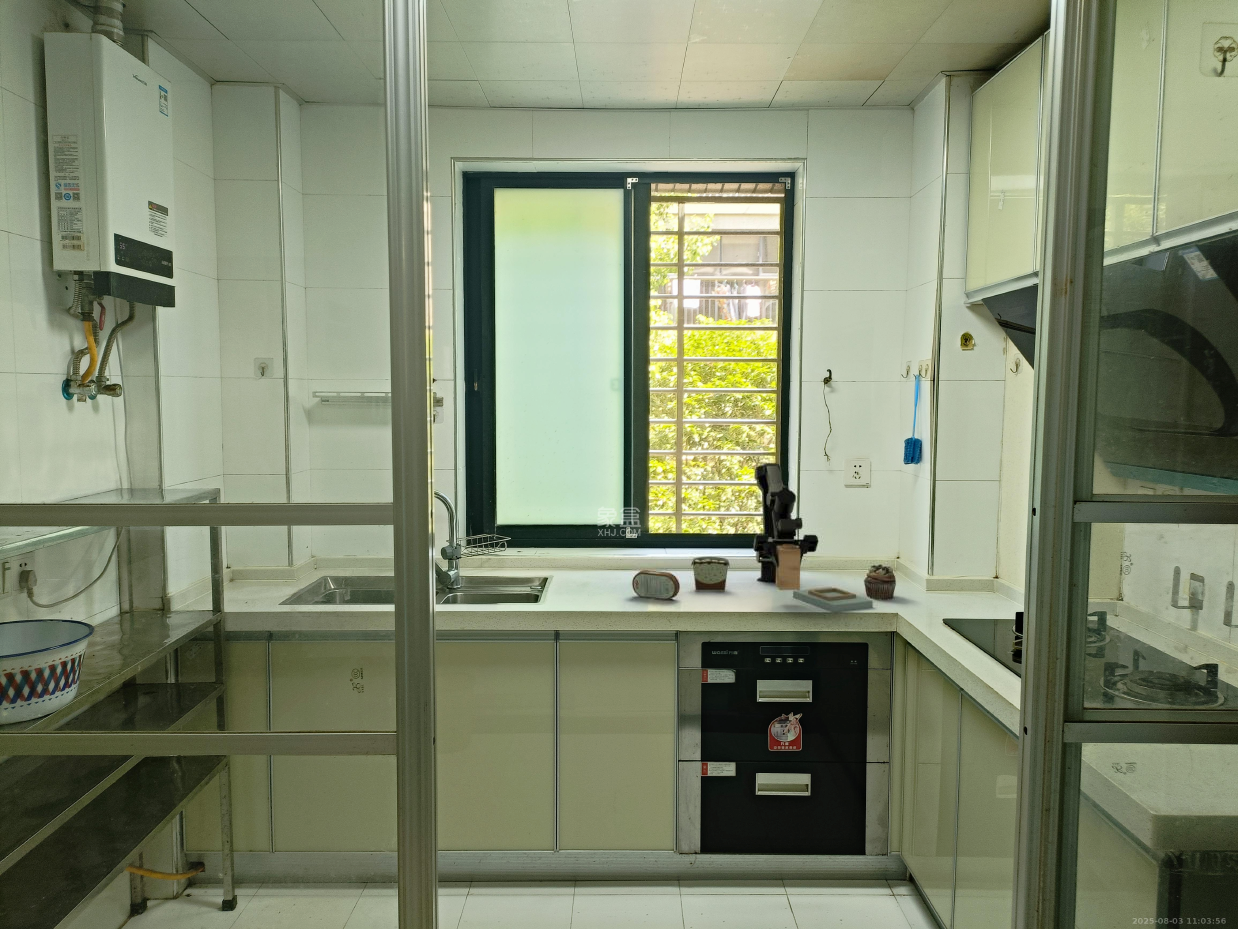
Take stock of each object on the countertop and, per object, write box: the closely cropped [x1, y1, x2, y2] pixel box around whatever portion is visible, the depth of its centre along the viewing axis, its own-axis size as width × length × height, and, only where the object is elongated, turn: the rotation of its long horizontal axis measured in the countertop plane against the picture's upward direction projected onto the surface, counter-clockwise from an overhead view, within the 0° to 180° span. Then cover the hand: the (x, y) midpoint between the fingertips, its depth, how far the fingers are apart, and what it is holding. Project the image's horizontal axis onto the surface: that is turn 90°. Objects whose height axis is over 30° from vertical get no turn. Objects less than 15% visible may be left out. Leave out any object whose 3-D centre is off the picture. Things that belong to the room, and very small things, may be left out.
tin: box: [631, 569, 681, 601], centre depth 254 cm, size 15×3×8 cm, turn 65°
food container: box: [690, 556, 731, 592], centre depth 268 cm, size 12×6×10 cm, turn 84°
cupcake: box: [863, 563, 897, 601], centre depth 257 cm, size 10×10×10 cm
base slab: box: [792, 586, 874, 613], centre depth 250 cm, size 20×14×3 cm
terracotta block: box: [775, 544, 801, 591], centre depth 246 cm, size 6×6×13 cm
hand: (788, 566), depth 245 cm, fingers closed on terracotta block, 6 cm apart
